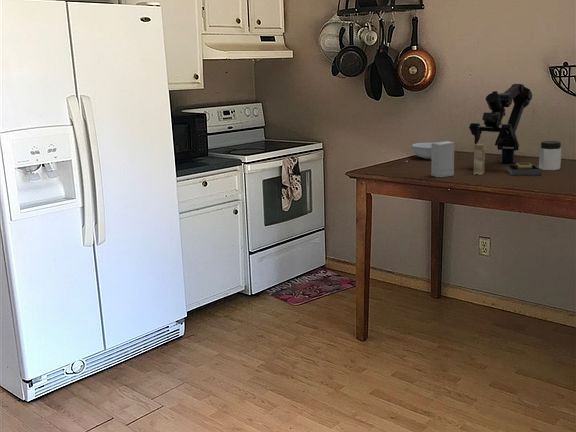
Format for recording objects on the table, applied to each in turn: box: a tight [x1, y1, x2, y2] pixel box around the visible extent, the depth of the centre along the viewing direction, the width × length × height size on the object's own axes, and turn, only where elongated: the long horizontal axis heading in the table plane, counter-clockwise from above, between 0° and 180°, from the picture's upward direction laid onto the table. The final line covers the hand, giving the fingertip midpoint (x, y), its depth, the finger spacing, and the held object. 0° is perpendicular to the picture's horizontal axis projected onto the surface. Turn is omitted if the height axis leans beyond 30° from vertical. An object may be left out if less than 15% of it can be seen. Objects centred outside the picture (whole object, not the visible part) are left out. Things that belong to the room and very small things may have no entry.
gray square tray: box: [506, 162, 542, 177], centre depth 279 cm, size 12×12×4 cm
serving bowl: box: [411, 142, 433, 160], centre depth 327 cm, size 21×21×7 cm
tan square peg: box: [473, 143, 486, 176], centre depth 280 cm, size 4×4×13 cm
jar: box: [538, 140, 562, 171], centre depth 285 cm, size 9×8×12 cm
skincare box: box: [430, 140, 455, 178], centre depth 278 cm, size 8×6×15 cm
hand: (485, 144), depth 283 cm, fingers open, 9 cm apart
